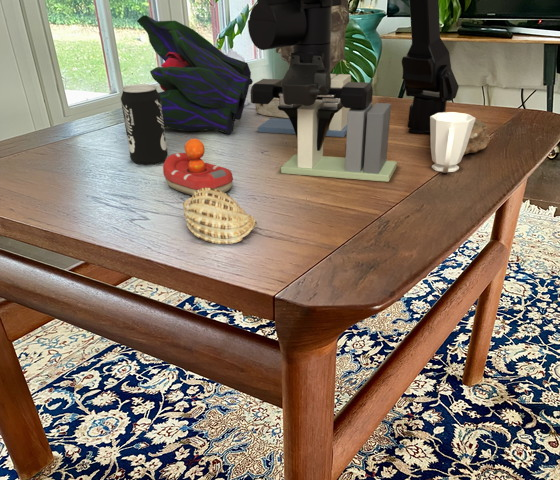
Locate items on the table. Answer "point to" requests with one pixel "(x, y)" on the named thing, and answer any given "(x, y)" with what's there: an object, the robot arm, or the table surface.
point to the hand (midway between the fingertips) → (310, 149)
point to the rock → (477, 138)
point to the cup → (449, 139)
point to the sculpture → (337, 54)
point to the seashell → (217, 217)
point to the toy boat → (195, 171)
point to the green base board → (357, 149)
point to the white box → (308, 135)
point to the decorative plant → (196, 79)
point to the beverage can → (144, 124)
